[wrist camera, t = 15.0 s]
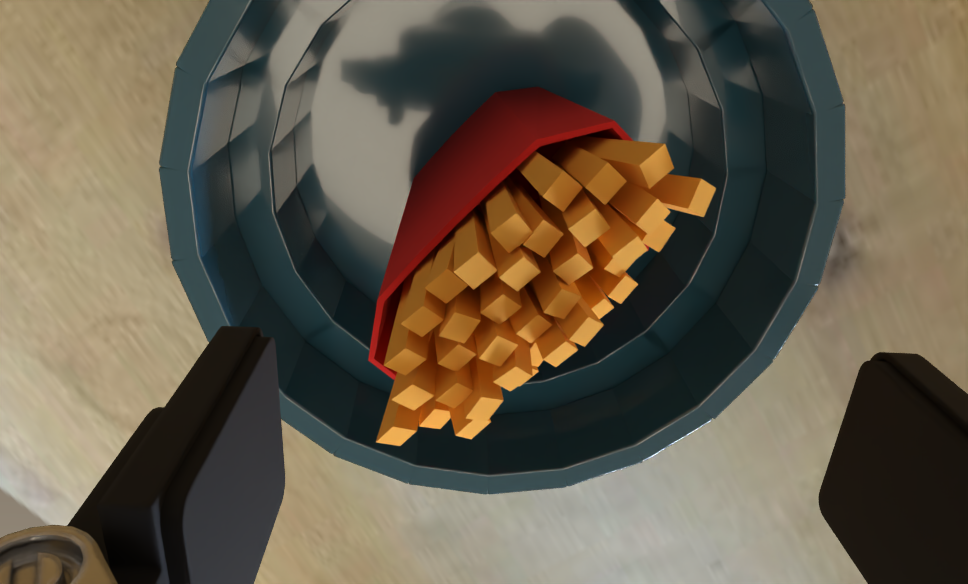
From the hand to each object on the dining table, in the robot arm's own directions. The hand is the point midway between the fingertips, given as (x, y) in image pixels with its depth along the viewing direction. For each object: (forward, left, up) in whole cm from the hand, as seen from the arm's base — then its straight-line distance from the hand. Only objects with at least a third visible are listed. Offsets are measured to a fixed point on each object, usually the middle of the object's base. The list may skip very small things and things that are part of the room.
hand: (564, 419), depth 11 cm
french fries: (0, 0, -15) cm, 15 cm away
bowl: (0, 0, -15) cm, 15 cm away
